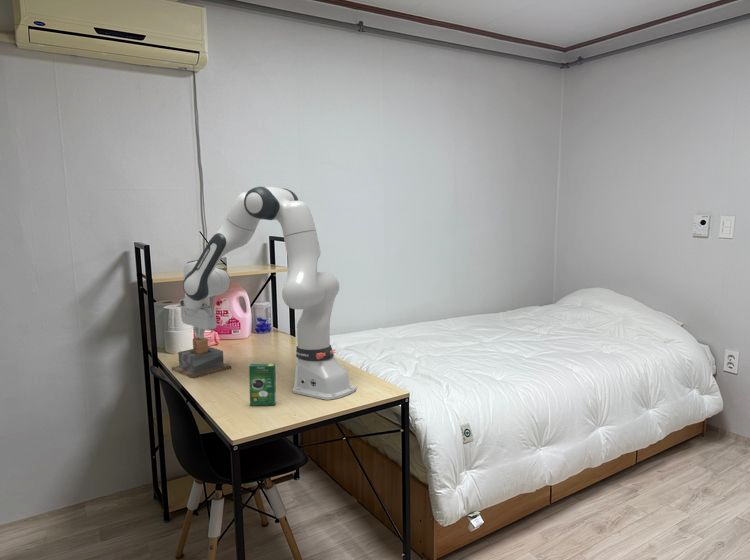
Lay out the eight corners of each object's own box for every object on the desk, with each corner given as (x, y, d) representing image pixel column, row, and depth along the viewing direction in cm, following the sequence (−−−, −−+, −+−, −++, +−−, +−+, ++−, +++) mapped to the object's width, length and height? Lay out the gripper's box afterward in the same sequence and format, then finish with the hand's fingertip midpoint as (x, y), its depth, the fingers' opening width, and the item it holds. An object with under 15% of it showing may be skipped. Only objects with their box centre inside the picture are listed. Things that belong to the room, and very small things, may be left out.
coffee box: (277, 402, 165) (275, 362, 163) (275, 406, 162) (274, 365, 160) (252, 403, 165) (250, 362, 163) (249, 406, 162) (247, 365, 160)
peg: (209, 364, 200) (207, 338, 199) (199, 366, 197) (197, 340, 196) (203, 362, 203) (202, 337, 202) (194, 364, 200) (192, 339, 199)
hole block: (231, 368, 201) (230, 350, 200) (192, 378, 189) (191, 360, 188) (209, 360, 212) (208, 344, 211) (171, 369, 200) (170, 352, 199)
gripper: (219, 304, 192) (221, 340, 194) (192, 298, 206) (194, 332, 208) (204, 306, 188) (206, 344, 190) (176, 300, 201) (179, 335, 203)
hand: (199, 338), depth 199 cm, fingers closed
